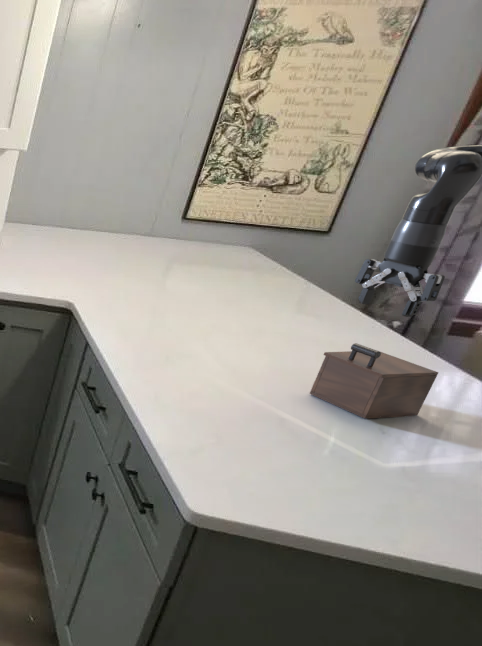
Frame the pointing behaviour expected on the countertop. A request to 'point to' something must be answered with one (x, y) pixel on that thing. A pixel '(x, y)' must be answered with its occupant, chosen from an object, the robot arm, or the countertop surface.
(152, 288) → the countertop surface
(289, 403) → the countertop surface
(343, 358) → the lid
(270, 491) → the countertop surface
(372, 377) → the chest
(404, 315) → the robot arm
